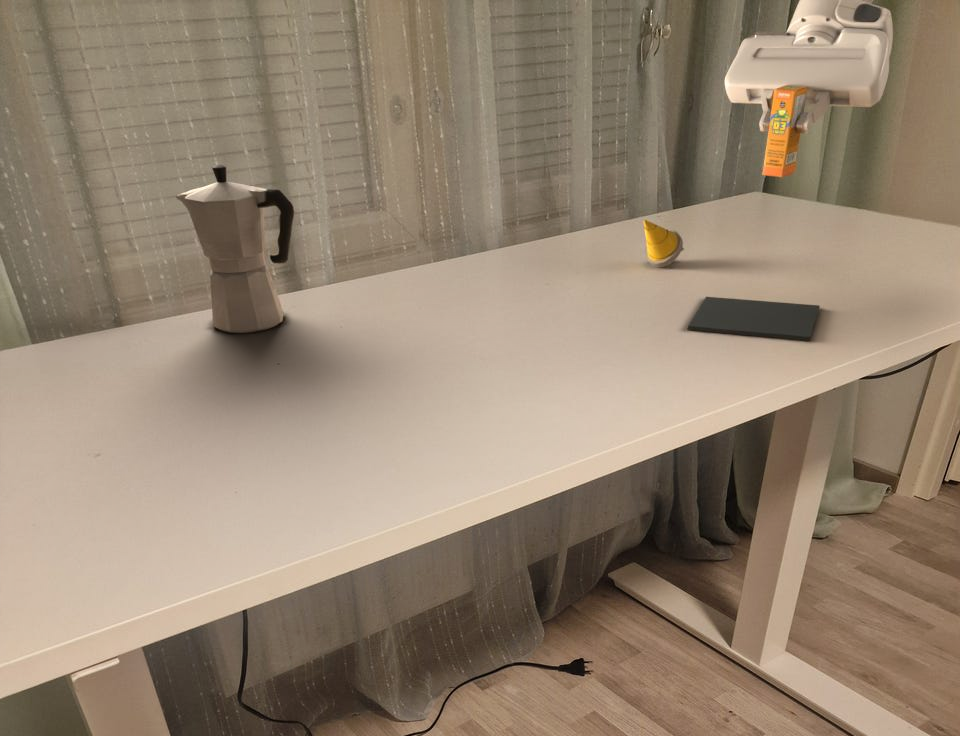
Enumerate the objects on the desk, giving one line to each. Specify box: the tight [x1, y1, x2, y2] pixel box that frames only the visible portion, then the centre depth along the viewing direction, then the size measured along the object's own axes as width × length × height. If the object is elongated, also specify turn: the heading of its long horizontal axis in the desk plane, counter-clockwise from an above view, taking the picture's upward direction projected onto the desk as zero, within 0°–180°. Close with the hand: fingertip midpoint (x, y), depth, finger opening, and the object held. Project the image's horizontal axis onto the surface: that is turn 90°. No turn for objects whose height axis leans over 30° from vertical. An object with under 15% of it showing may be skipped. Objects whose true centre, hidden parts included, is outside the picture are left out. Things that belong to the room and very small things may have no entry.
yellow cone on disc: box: [643, 219, 685, 268], centre depth 122 cm, size 5×5×10 cm
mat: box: [687, 296, 820, 342], centre depth 105 cm, size 14×12×1 cm
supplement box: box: [762, 85, 807, 178], centre depth 112 cm, size 3×3×10 cm
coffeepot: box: [175, 163, 295, 334], centre depth 105 cm, size 15×9×18 cm, turn 72°
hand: (783, 129), depth 112 cm, fingers closed on supplement box, 3 cm apart
